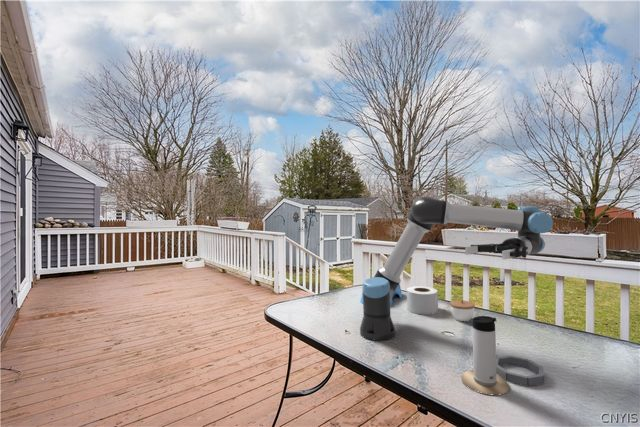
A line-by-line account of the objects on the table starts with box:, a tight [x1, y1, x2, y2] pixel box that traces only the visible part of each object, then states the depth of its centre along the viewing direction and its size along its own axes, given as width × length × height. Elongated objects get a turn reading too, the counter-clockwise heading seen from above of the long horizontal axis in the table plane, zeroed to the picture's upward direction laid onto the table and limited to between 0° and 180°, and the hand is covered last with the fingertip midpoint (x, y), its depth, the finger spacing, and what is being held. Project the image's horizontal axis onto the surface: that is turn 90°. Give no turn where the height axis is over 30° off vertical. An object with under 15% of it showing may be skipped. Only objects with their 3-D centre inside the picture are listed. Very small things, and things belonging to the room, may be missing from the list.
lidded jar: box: [449, 299, 475, 322], centre depth 150 cm, size 11×11×9 cm
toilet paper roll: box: [406, 285, 439, 316], centre depth 166 cm, size 16×15×11 cm
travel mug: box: [472, 315, 498, 387], centre depth 96 cm, size 6×7×20 cm
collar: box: [496, 355, 545, 387], centre depth 102 cm, size 14×14×2 cm
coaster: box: [460, 369, 510, 396], centre depth 97 cm, size 13×13×1 cm
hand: (483, 253), depth 111 cm, fingers open, 13 cm apart
